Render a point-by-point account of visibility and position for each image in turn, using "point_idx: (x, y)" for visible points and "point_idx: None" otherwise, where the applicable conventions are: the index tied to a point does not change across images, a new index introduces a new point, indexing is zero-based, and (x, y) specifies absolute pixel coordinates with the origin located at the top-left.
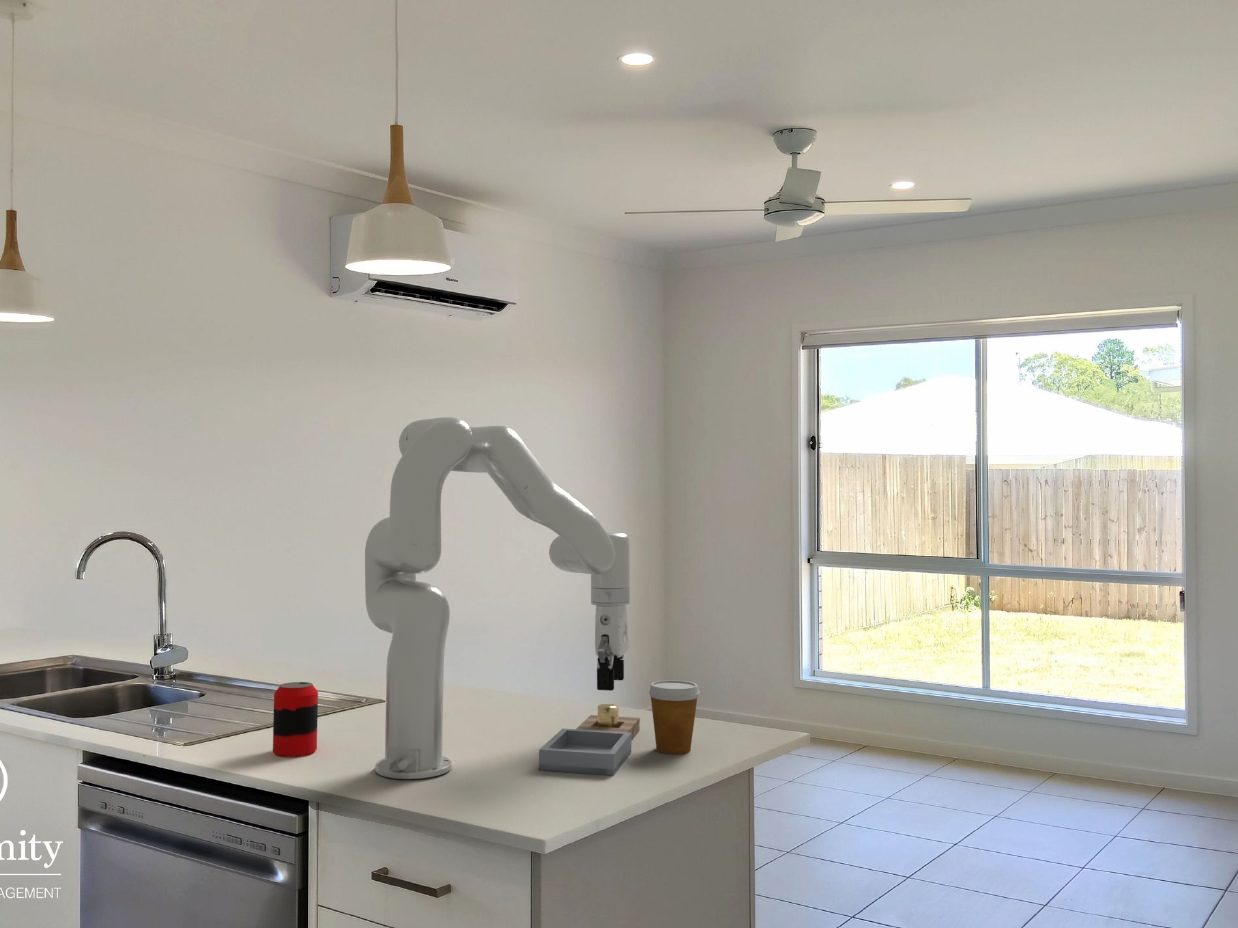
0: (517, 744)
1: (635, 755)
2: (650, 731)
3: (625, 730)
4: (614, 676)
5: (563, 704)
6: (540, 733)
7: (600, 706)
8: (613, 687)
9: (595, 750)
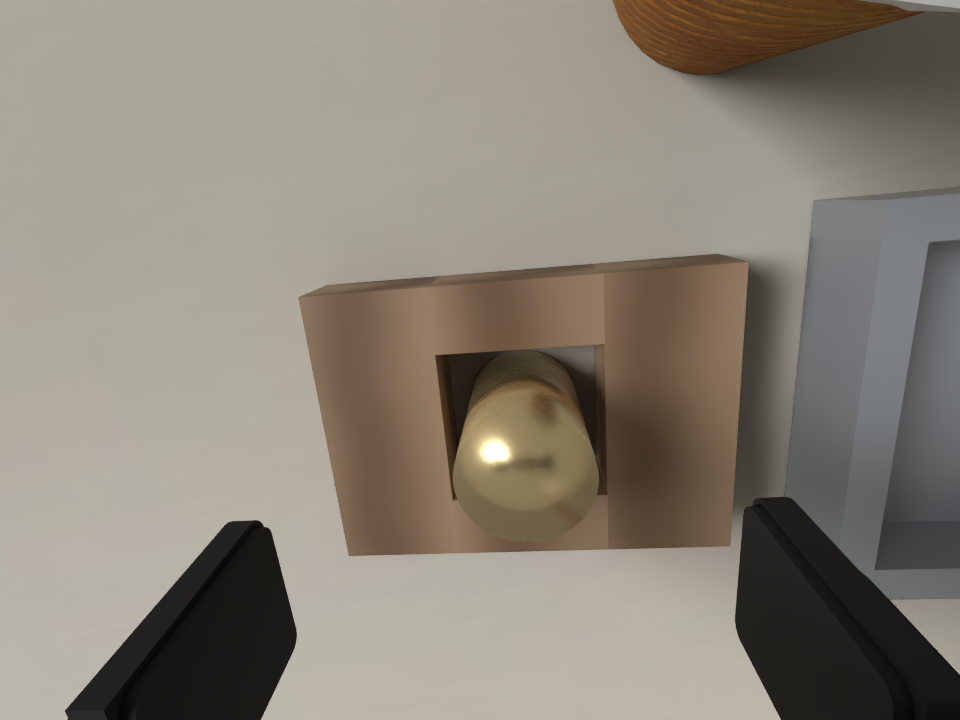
0: (759, 696)
1: (890, 155)
2: (322, 222)
3: (656, 292)
4: (273, 613)
5: (29, 702)
6: (548, 666)
7: (554, 521)
8: (798, 507)
9: (954, 365)
